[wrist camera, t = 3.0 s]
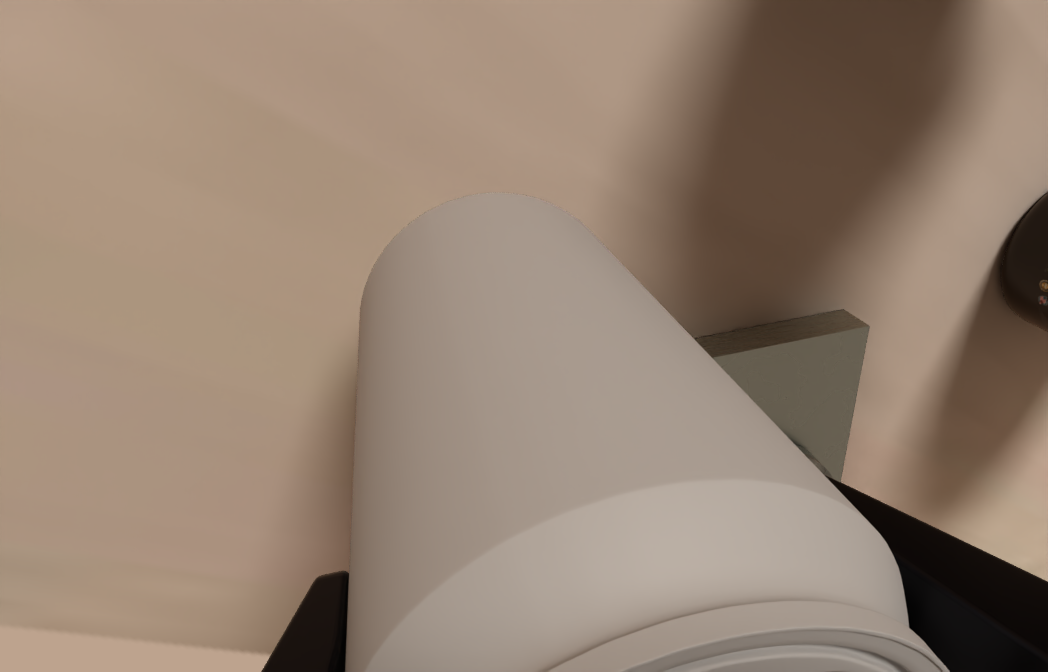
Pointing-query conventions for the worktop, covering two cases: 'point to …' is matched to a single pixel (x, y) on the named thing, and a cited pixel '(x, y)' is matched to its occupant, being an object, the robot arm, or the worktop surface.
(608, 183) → the worktop surface
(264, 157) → the worktop surface
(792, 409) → the grey flat piece
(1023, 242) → the supplement bottle
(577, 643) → the beverage can
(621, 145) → the worktop surface
